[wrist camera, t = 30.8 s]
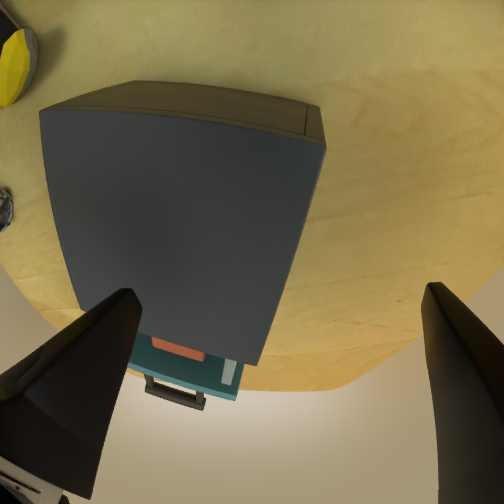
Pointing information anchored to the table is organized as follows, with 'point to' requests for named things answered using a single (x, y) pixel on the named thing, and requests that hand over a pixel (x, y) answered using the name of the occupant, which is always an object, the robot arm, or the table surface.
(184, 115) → the small filing cabinet
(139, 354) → the drawer
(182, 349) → the block
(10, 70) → the gaming controller
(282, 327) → the table surface
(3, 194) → the wristwatch
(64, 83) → the table surface
